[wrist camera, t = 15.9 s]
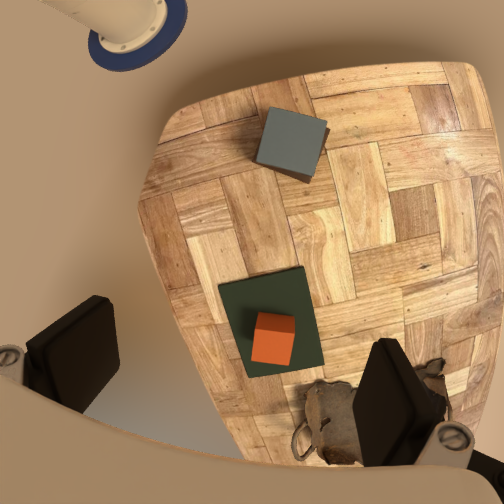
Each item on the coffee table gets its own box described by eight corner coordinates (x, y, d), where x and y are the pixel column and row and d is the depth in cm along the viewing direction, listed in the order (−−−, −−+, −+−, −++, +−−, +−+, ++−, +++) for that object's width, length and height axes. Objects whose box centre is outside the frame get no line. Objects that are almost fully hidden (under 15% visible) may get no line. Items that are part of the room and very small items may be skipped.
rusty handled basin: (428, 431, 45) (442, 465, 36) (295, 453, 49) (293, 492, 40) (450, 355, 41) (475, 389, 31) (289, 380, 45) (287, 424, 35)
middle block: (259, 163, 33) (255, 161, 30) (271, 113, 32) (269, 106, 28) (310, 176, 33) (313, 176, 29) (323, 127, 32) (327, 120, 28)
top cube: (255, 341, 43) (251, 360, 38) (258, 311, 42) (254, 328, 37) (289, 346, 42) (288, 365, 38) (294, 316, 41) (294, 333, 36)
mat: (218, 285, 42) (217, 286, 41) (303, 266, 40) (304, 267, 39) (249, 376, 45) (248, 378, 45) (324, 362, 43) (324, 365, 43)
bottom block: (255, 163, 37) (251, 161, 33) (274, 113, 35) (273, 106, 32) (306, 183, 37) (309, 184, 33) (326, 133, 35) (330, 128, 31)
